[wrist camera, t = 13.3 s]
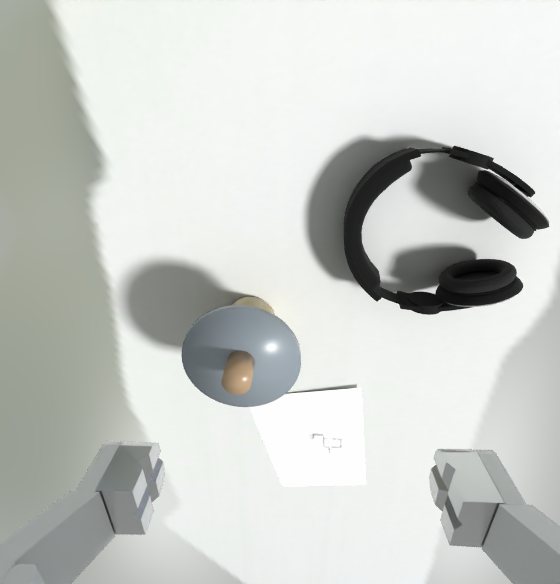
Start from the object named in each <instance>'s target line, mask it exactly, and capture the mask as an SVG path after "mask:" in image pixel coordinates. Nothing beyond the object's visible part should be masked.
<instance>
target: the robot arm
mask: <svg viewBox="0 0 560 584" xmlns="http://www.w3.org/2000/svg"><path fill="white" fill-rule="evenodd" d="M160 452H161V451H160V447H159V443H148V442H129V441H107V442H105V443H104V444H103V445H102V446H101V448H100V450H99V452H98V453H97V455H96V457H95V458H94V460H93V462H92V463H91V465H90V467H89V469H88V470H87V472H86V474H85V475H84V477H83V479H82V481H81V482H80V484H79V485H78V487H77V489H76V490H75V491H69V492H68V493H67V494H65V495H64V496H63V497H61V498H60V499H59V500H57V501H56V502H55V503H53V504H52V505H51V506H49V507H48V508H47V509H45V510H44V511H43V512H41V513H40V514H39V515H37V516H36V517H35V518H33V519H32V520H31V521H29V522H28V523H27V524H25V525H24V526H22V527H21V528H20V529H18V530H17V531H16V532H14V533H13V534H12V535H10V536H9V537H8V538H7V539H5V540H4V541H2V542H1V543H0V584H71V583H72V582H73V581H74V580H75V579H76V577H78V576H79V575H80V574H81V572H82V571H83V570H84V569H85V568H86V567H87V566H88V565H89V564H90V563H91V562H92V561H93V560H94V559H95V557H96V556H97V555H98V554H99V553H100V552H101V551H102V550H103V549H104V547H106V546H107V544H108V543H109V542H110V541H111V540H112V539H113V538H114V537H115V534H146V531H147V528H148V525H149V523H150V520H151V517H152V514H153V512H154V510H153V506H152V502H153V501H154V500H155V499H156V498H157V497H158V496H159V495H160V492H161V489H162V486H163V481H164V464H163V461H162V460H161V459H159V458H158V457H159V454H160ZM434 460H435V463H436V465H435V466H434V467H433V468H431V472H430V489H431V494H432V497H433V500H434V503H435V505H436V506H437V507H438V508H439V509H440V510H441V511H443V513H442V516H441V523H442V526H443V529H444V531H445V534H446V537H447V539H448V542H449V544H450V545H453V546H469V547H483V548H482V550H483V551H484V552H485V553H486V554H487V555H488V556H489V557H490V559H491V560H492V561H493V562H494V563H495V564H496V565H497V566H498V568H499V569H500V570H501V571H502V572H503V573H504V574H505V575H506V576H507V578H508V579H509V580H510V581H511V582H512V583H513V584H560V526H559V525H558V524H556V523H555V522H554V521H552V520H551V519H550V518H549V517H547V516H546V515H545V514H543V513H542V512H541V511H540V510H538V509H537V508H536V507H534V506H533V505H526V503H525V501H524V499H523V498H522V496H521V494H520V493H519V491H518V489H517V488H516V486H515V484H514V483H513V481H512V480H511V478H510V476H509V474H508V473H507V471H506V469H505V468H504V466H503V464H502V463H501V461H500V459H499V457H498V456H497V454H496V453H495V452H494V451H493V450H472V449H437V451H436V452H435V455H434Z"/></svg>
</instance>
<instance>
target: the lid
mask: <svg viewBox="0 0 560 584" xmlns="http://www.w3.org/2000/svg"><path fill="white" fill-rule="evenodd" d="M182 362H183V366H184V369H185V372H186V374H187V376H188V377H189V379H190V380H191V382H192V383H193V384H194V385H195V386H196V387H197V388H198V389H199V390H200V391H201V392H202V393H204V394H205V395H207V396H208V397H210V398H212V399H214V400H216V401H218V402H221V403H223V404H227V405H231V406H237V407H254V406H260V405H264V404H268V403H270V402H273V401H275V400H277V399H279V398H280V397H282V396H283V395H284V394H286V393H287V392H288V391H289V390H290V389H291V388H292V386H293V385H294V383H295V382H296V380H297V378H298V375H299V372H300V366H301V354H300V347H299V343H298V341H297V339H296V337H295V335H294V333H293V332H292V330H291V329H290V328H289V327H288V325H286V324H285V323H284V322H283V321H282V320H281V319H280V318H278V317H277V316H275V315H273V314H272V313H270V312H268V311H265V310H263V309H260V308H257V307H253V306H247V305H229V306H224V307H220V308H217V309H214V310H212V311H209V312H207V313H206V314H204V315H203V316H201V317H200V318H199V319H198V320H197V321H196V322H195V323H194V324H193V325H192V327H191V328H190V330H189V331H188V333H187V335H186V338H185V340H184V343H183V347H182Z"/></svg>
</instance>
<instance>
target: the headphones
mask: <svg viewBox="0 0 560 584" xmlns="http://www.w3.org/2000/svg"><path fill="white" fill-rule="evenodd" d="M435 152H442V153H448V154H450V155H449V157H451V158H454V159H457V160H460V161H463V162H466V163H469V164H472V165H476V166H479V167H482V168H485V169H488V168H489V169H490V170H492V171H494V172H495V173H497V174H498V175H500V176H501V177H503V178H504V179H506V180H507V181H508V182H507V181H506V180H504V179H502V178H501V177H499V176H497V175H495V174H493V173H491V172H489V171H486V170H484V171H479V172H478V176H477V182H476V184H474V185H472V186H471V187H470V188H469V190H468V195H469V197H470V198H471V199H472V200H473V201H474V202H475V203H476V204H477V205H478V206H480V207H481V208H482V209H483V210H484V211H485V212H486V213H488V214H489V215H490V216H491V217H493V218H494V219H495V220H496V221H497V222H499V223H500V224H501V225H502V226H504V227H505V228H506V229H508V230H509V231H510V232H512V233H513V234H514V235H516V236H517V237H519V238H521V239H527V238H530V237H531V236H532V235H533V233H534V231H536V229H544V228H547V227H549V220H548V219H547V217H546V216H545V215H544V213H543V212H542V211H541V210H540V208H539V207H538V206H537V205H536V204H535V203H534V202H532V201H531V200H530V199H529V198H528V196H529V197H532V196H533V195H534V194H535V191H534V190H533V189H532V188H531V187H530V186H529V185H527V184H526V183H525V182H524V181H522V180H521V179H520V178H518V177H517V176H516V175H514V174H513V173H511V172H509V171H508V170H506V169H505V168H503V167H502V166H500V165H498V164H496V163H494V162H492V161H493V159H494V158H492V157H489V156H486V155H483V154H480V153H477V152H474V151H470V150H467V149H464V148H461V147H457V146H454V147H453V149H450V148H445V147H442V149H415V148H411V147H410V148H407V149H404V150H401V151H399V152H396V153H394V154H392V155H390V156H388V157H386V158H384V159H383V160H381V161H380V162H378V163H377V164H376V165H374V166H373V167H372V168H371V169H370V170H369V171H368V172H367V173H366V174H365V175H364V177H363V178H362V179H361V180H360V182H359V183H358V184H357V186H356V187H355V189H354V191H353V193H352V195H351V197H350V199H349V202H348V205H347V208H346V212H345V218H344V247H345V254H346V258H347V262H348V265H349V268H350V270H351V272H352V274H353V276H354V278H355V279H356V280H357V282H358V283H359V285H360V286H361V287H362V288H363V289H364V290H365V291H366V292H367V293H368V294H369V295H370V296H371V297H372V298H373V299H374V300H375V301H378V300H380V299H381V297H383V298H385V299H387V300H389V301H392V302H395V303H398V304H399V305H400V308H401V309H407V310H412V311H414V312H417V313H421V314H429V315H430V314H437V313H439V312H441V311H450V310H458V309H465V308H471V307H478V306H488V305H493V304H497V303H501V302H504V301H506V300H509V299H511V298H512V297H514V296H515V295H517V294H518V293H519V292H520V291H521V290H522V288H523V283H522V282H521V280H520V279H519V278H518V277H517V276H516V273H517V272H516V269H515V267H514V266H513V265H512V264H510V263H508V262H506V261H502V260H495V259H479V260H470V261H465V262H461V263H458V264H455V265H453V266H451V267H448V268H447V269H445V270H444V271H443V272H442V273H441V275H440V276H439V283H440V285H439V286H438V288H437V290H436V295H435V294H432V293H428V292H413V293H405V292H400V291H397V293H393V292H390V291H388V290H386V289H383V288H381V287H380V284H379V283H380V275H379V271H378V269H377V268H376V267H375V266H374V265H373V263H372V262H371V261H370V259H369V258H368V256H367V254H366V252H365V250H364V248H363V245H362V234H361V231H362V224H363V221H364V218H365V215H366V213H367V211H368V209H369V208H370V206H371V205H372V203H373V202H374V200H375V199H376V198H377V197H378V196H379V195H380V194H381V193H382V192H383V191H384V190H385V189H386V188H387V187H388V186H389V185H391V184H392V183H393V182H394V181H396V180H397V179H399V178H400V177H401V176H403V175H404V174H406V173H407V172H409V171H410V170H411V169H412V165H411V162H410V160H411V159H414V158H417V157H420V156H421V154H423V153H435ZM510 183H511V184H512V185H511V184H510Z"/></svg>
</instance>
